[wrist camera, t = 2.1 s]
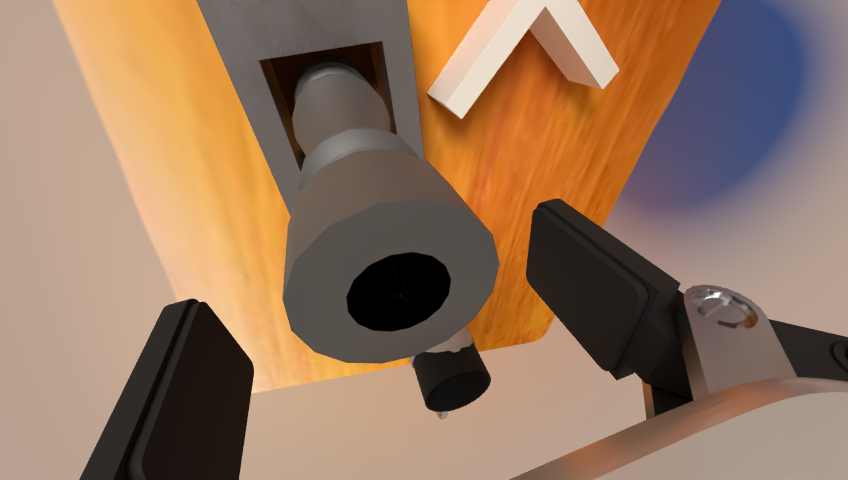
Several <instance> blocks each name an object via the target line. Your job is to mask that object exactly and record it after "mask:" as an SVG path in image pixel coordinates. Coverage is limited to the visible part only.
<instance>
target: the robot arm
mask: <svg viewBox="0 0 848 480" xmlns="http://www.w3.org/2000/svg"><path fill="white" fill-rule="evenodd" d="M526 278H527V281H528V283H529V284H530V285H531V287H532V288H533V289H534V290H535V291H536V292H537V294H538V295H539V296H540V297H541V298H542V300H543V301H544V302H545V303H546V304H547V305H548V307H549V308H550V309H551V310H552V311H553V312H554V314H555V315H556V316H557V317H558V318H559V319H560V321H561V322H562V323H563V324H564V325H565V326H566V328H567V329H568V330H569V331H570V332H571V333H572V335H573V336H574V337H575V338H576V339H577V341H578V342H579V343H580V344H581V345H582V347H583V348H584V349H585V350H586V351H587V352H588V354H589V355H590V356H591V357H592V358H593V360H594V361H595V362H596V363H597V364H598V365H599V366H600V367H601V368H602V369H603V370H605V371H609V372H610V373H611V374H612V375H613V377H614V378H615V379H616V380H619V379H621V378H624V377H626V376H629V375H631V374H633V373H634V372H635V373H636V374H637V375H638V376H639V377H640V378H641V379H642V384H643V394H644V401H645V410H646V418H647V420H645V421H643V422H641V423H638V424H636V425H634V426H632V427H629V428H627V429H625V430H622V431H620V432H618V433H616V434H613V435H611V436H608V437H606V438H604V439H602V440H599V441H597V442H595V443H592V444H590V445H588V446H585V447H583V448H581V449H579V450H576V451H574V452H572V453H569V454H567V455H565V456H563V457H560V458H558V459H555V460H553V461H551V462H549V463H546V464H544V465H542V466H539V467H537V468H535V469H533V470H530V471H528V472H526V473H524V474H521V475H519V476H517V477H514V478H512V479H510V480H848V337H844V336H840V335H836V334H831V333H827V332H822V331H818V330H814V329H809V328H805V327H800V326H796V325H792V324H787V323H783V322H779V321H774V320H770V319H768V318H767V316H766V315H765V314H764V312H763V311H762V310H761V308H760V307H759V306H757V305H756V304H755V303H754V302H752V301H751V300H750V299H748V298H746V297H745V296H742V295H741V294H739V293H737V292H734V291H732V290H729V289H727V288H722V287H718V286H713V285H698V286H693V287H691V288H689V289H687V290H686V292H685V293H684V294H683V293H682V292H680V291H679V290H678V288H679V285H680V283H679V282H678V281H677V280H675V279H674V278H672V277H671V276H669V275H668V274H667V273H665V272H664V271H662V270H661V269H659V268H658V267H657V266H655V265H654V264H652V263H651V262H649V261H648V260H647V259H645V258H644V257H642V256H641V255H639V254H638V253H637V252H635V251H634V250H632V249H631V248H629V247H628V246H627V245H625V244H624V243H622V242H621V241H620V240H618V239H617V238H615V237H614V236H612V235H611V234H610V233H608V232H607V231H605V230H604V229H602V228H601V227H600V226H598V225H597V224H595V223H594V222H592V221H591V220H590V219H588V218H587V217H585V216H584V215H582V214H581V213H580V212H578V211H577V210H575V209H574V208H572V207H571V206H570V205H568V204H567V203H565V202H564V201H562V200H561V199H553V200H549V201H545V202H542V203H539V204H538V206H537V209H535V210H534V211H533V215H532V224H531V233H530V242H529V250H528V259H527V268H526ZM253 377H254V367H253V364H252V361H251V360H250V358H249V357H248V356H247V355H246V353H245V352H244V351H243V349H242V348H241V347H240V345H239V344H238V343H237V342H236V340H235V339H234V338H233V336H232V335H231V334H230V332H229V331H228V330H227V329H226V327H225V326H224V325H223V323H222V322H221V321H220V319H219V318H218V317H217V316H216V314H215V313H214V312H213V310H212V309H211V308H210V307H209V305H208V304H207V303H206V302H199V301H198V300H196V299H188V300H185V301H181V302H178V303H174V304H170V305H167V306H166V307H164V309H163V310H162V312H161V314H160V316H159V318H158V320H157V322H156V324H155V326H154V329H153V331H152V332H151V334H150V337H149V339H148V341H147V343H146V345H145V347H144V349H143V351H142V353H141V355H140V357H139V359H138V361H137V363H136V365H135V368H134V369H133V371H132V373H131V375H130V377H129V379H128V382H127V383H126V386H125V388H124V390H123V392H122V394H121V396H120V398H119V400H118V402H117V404H116V406H115V408H114V410H113V412H112V414H111V416H110V418H109V420H108V422H107V424H106V427H105V428H104V431H103V433H102V435H101V437H100V439H99V441H98V443H97V445H96V447H95V449H94V451H93V453H92V455H91V457H90V459H89V461H88V463H87V465H86V467H85V469H84V471H83V473H82V475H81V477H80V480H239V474H240V467H241V460H242V453H243V446H244V439H245V432H246V425H247V417H248V411H249V404H250V396H251V391H252V384H253Z"/></svg>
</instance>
